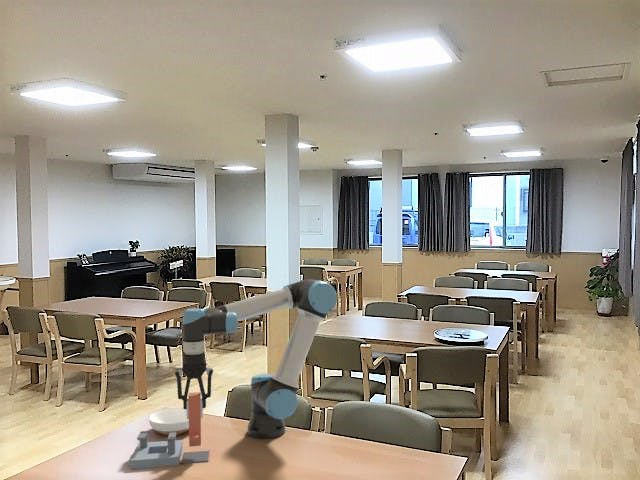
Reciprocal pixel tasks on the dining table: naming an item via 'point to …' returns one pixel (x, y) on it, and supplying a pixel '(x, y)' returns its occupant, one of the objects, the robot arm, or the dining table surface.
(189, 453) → the mat
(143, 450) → the eye block
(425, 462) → the dining table surface
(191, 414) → the orange tabbed bar
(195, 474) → the dining table surface
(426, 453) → the dining table surface
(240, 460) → the dining table surface
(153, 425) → the bowl
